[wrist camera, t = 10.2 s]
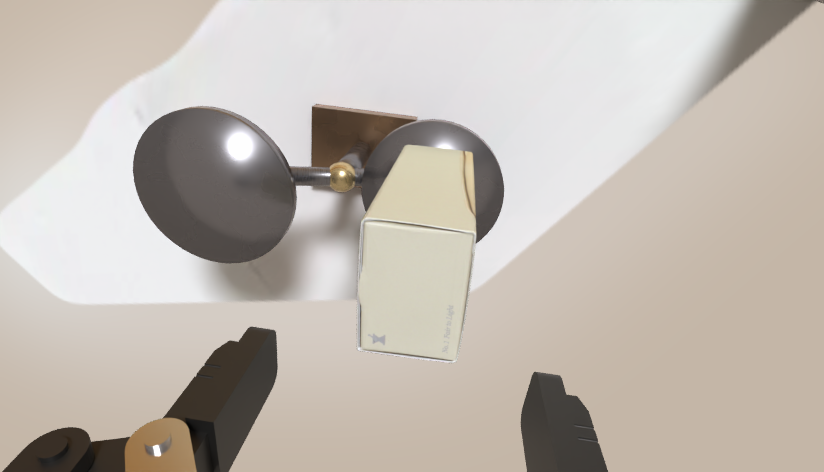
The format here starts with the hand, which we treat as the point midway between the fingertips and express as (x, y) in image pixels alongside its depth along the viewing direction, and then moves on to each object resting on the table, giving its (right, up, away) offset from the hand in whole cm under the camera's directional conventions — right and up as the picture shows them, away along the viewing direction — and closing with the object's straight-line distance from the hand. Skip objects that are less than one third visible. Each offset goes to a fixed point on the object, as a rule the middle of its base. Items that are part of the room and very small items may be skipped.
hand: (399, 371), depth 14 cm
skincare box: (+2, +7, +14) cm, 16 cm away
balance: (-4, +11, +22) cm, 25 cm away
